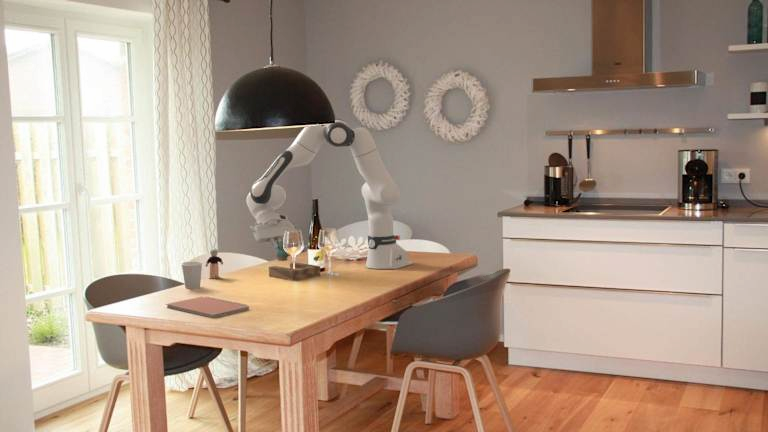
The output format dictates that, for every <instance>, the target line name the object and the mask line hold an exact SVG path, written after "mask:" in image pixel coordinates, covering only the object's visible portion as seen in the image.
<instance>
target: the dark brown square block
mask: <svg viewBox="0 0 768 432" xmlns="http://www.w3.org/2000/svg"><path fill="white" fill-rule="evenodd" d="M293 263H295V269H293ZM320 276H321V266H320V265H314V264H308V263H303V262H296V261H295V262H289V267H285V266H278V265H273V266H268V277H272V278H276V279H277V278H278V279H282V280H287V281H292V282H294V281H295V282H296V281H298V280H299V281H300V280H304V279H310V278H313V277H314V278H315V277H320Z"/></svg>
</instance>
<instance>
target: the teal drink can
mask: <svg viewBox="0 0 768 432" xmlns="http://www.w3.org/2000/svg"><path fill="white" fill-rule="evenodd" d="M276 243H278V244H279V245H280V247H279V248H276V256H277V257H276V258H277V261H279V262H286V261H288V258H289V253H288V254H287V253H286V252H285V251H284V249H283V237H277V241H276Z"/></svg>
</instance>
